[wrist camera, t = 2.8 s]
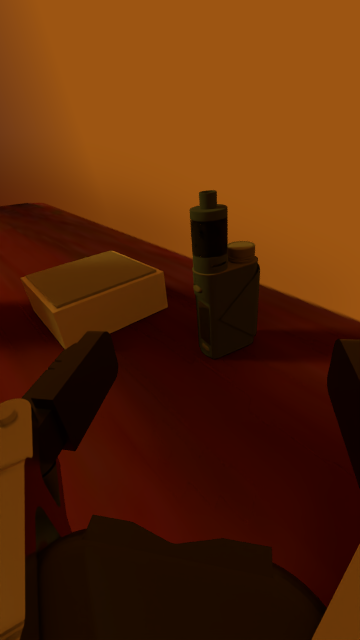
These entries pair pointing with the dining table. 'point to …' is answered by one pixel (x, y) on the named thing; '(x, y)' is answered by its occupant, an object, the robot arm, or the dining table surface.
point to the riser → (95, 295)
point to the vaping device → (222, 281)
